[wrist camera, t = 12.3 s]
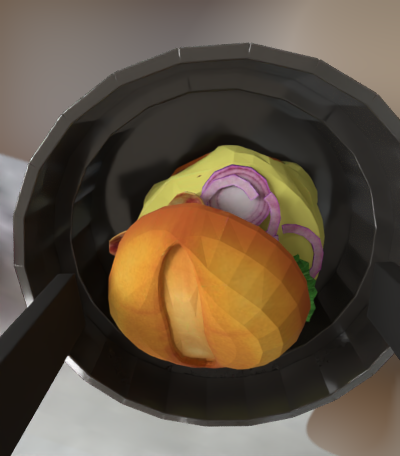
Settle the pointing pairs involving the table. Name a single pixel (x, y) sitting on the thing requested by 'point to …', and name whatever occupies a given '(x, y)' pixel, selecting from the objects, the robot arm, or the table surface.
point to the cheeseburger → (220, 262)
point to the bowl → (186, 152)
